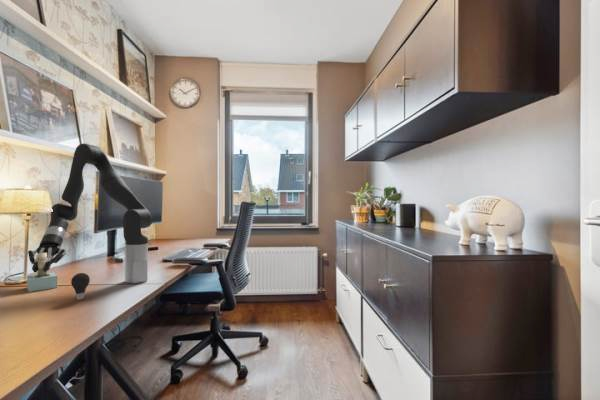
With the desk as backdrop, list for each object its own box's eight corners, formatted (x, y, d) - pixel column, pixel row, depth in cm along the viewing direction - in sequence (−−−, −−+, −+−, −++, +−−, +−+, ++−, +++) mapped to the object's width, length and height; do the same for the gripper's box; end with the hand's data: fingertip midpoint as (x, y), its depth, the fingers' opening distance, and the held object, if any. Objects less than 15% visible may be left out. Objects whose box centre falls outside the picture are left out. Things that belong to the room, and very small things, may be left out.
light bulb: (92, 299, 114) (92, 272, 114) (75, 303, 109) (75, 275, 109) (85, 296, 116) (85, 270, 117) (67, 300, 112) (68, 273, 112)
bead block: (57, 287, 129) (57, 275, 129) (28, 291, 122) (29, 279, 122) (54, 283, 135) (54, 272, 135) (26, 287, 128) (27, 275, 128)
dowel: (47, 281, 129) (47, 253, 129) (37, 282, 126) (38, 254, 126) (46, 280, 131) (46, 252, 131) (36, 281, 128) (37, 253, 129)
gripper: (31, 233, 133) (15, 266, 122) (69, 232, 138) (57, 264, 126) (37, 244, 138) (22, 277, 127) (73, 242, 143) (62, 274, 131)
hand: (39, 270), depth 127 cm, fingers closed on dowel, 3 cm apart
